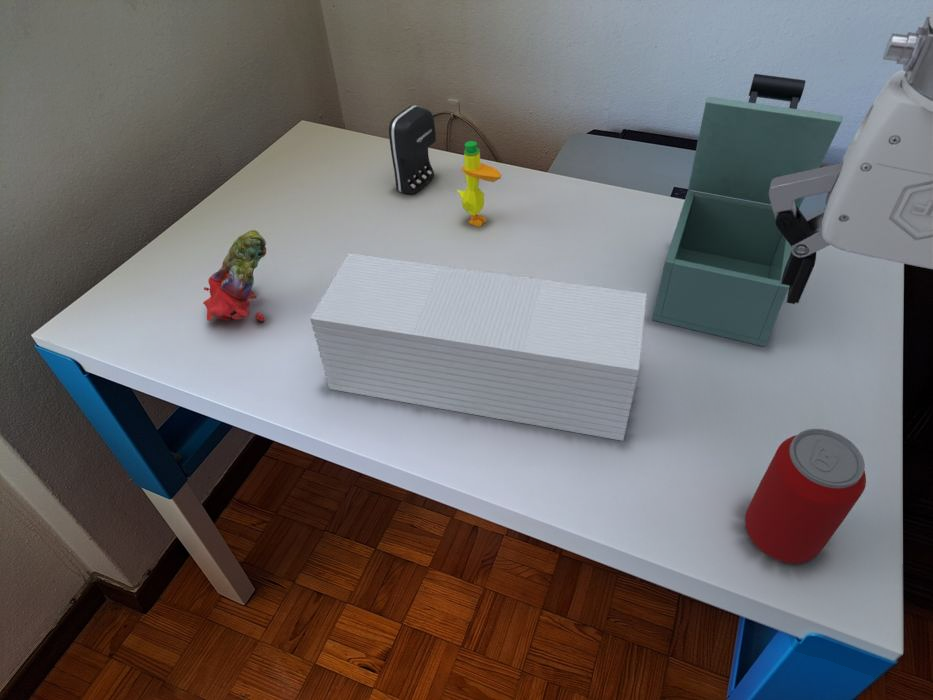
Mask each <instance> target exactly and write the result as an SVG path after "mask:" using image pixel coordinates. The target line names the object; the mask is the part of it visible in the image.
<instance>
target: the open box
mask: <svg viewBox="0 0 933 700" xmlns="http://www.w3.org/2000/svg"><path fill="white" fill-rule="evenodd" d="M669 245H670V246H669V248H668V251H667V254H666V258H665V261H664V265H663V270H662V274H661V278H660V281H659V282H660V283H659V288H658V292H657V296H656V301H655V305H654V309H653V314H652V317H651V320H652V321H654V322H659V323H663V324H667V325H671V326H675V327H678V328H679V327H680V328H684V329H688V330H693V331H697V332H701V333H705V334H709V335H713V336H716V337H722V338H726V339H730V340H734V341H739V342H743V343H746V344H747V343H748V344H751V345H754V346H760V347H764V348H765V346H766V345H767V343H768V340H769V337H770V335H771V333H772V330H773V327H774V325H775V323H776V320H777V319H778V315H779V313H780V310H781V308H782V306H783V303H784V301H785V298H786V295H787V294H788V291H789V285H784V284H781V281H782V276H783V272H784V269H785V267H786V264H787V261H788V259H789V256H790V254H791V251H792V247H791V245H790V244H789V243H788V241H787V240H786V238H785V237H784V236H783V234H782V233H781V232H780V230H779V229H778V228H777V226H776V219H775V215H774V213H773V209H772V206H771V204H765V203H760V202H754V201H749V200H743V199H738V198H732V197H727V196H721V195H716V194H710V193H705V192H699V191H694V190H687V191H686V195H685V198H684V202H683V205H682V208H681V210H680V214H679V217H678V220H677V223H676V227H675V230H674V233H673V236H672V239H671V242H670V244H669Z"/></svg>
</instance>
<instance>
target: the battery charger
mask: <svg viewBox="0 0 933 700" xmlns="http://www.w3.org/2000/svg"><path fill="white" fill-rule="evenodd" d="M388 137H389V146H390V152H391V153H390V154H391V161H392V165H393V173H394V181H395V189H396V190H397V191H398V192H399V193H404V194H409V195H413V194H416V193H417V192H419V191H421V189H423V188H424V187H425V186H426V185H427V184H429V183H430V182H431V181H432V180H433V179H434V177H435V172H434V169H433V166H432V164H431V161H430V157H429V148H430V147H431V146H432V145H433V144H434V143H436V141H437V135H436V126H435V118H434V115H433V112H432V111H430V110H429V109H427V108H424V107H421V106H419V105H417V104H416V105H410V106H408V107H406V108H405V109H403V110H402V111H400V112H399V113H397V115H395V116H393V118H392V119H391V120H390V122H389V125H388Z"/></svg>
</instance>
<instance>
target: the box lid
mask: <svg viewBox="0 0 933 700" xmlns="http://www.w3.org/2000/svg"><path fill="white" fill-rule="evenodd" d="M805 86H806V80H805V79H798V78H791V77H783V76H782V77H781V76H775V75H768V74H761V73H754V74H753V77H752V81H751V84H750V89H749V92H748V97H749V100H748V101H742V100H734V99H727V98H721V97H713V96H707V97H706V100H705V104H704V109H703V112H702V113H703V114H702V118H701V124H700V129H699V133H698V138H697V143H696V148H695V152H694V158H693V163H692V167H691V173H690V178H689V183H688V187H687V191H694V192H699V193H705V194H710V195H716V196H721V197H727V198H732V199H738V200H744V201H749V202H755V203H760V204H766V205H771V202H770V198H769V187H770V183H771V181H772V180H773V179H774V178H776V177H780V176H784V175H789V174H794V173H798V172H803V171H807V170H812V169H816V168H821V165H822V163H823V161H824V159H825V158H826V157H825V156H826V155H827V153H828V151H829V148H830V147H831V145H832V143H833V140H834V138H835V136H836V134H837V132H838V130H839V128H840V127H841V124H842V122H843V115H839V114H834V113H826V112H819V111H812V110H806V109H798V105H799V103H800V102H801V99H802V96H803V93H804V90H805ZM758 98H761V99H766V100H767V99H768V100H775V101H782V102H789V106H788V107H783V106H778V105H777V106H776V105H769V104H764V103H763V104H762V103H757V99H758ZM805 198H806V197H802V198H798V199H796V200H795V205H796V206H797V207H798V209H799V210H800V208H801V206H802V204H803V202H804V200H805Z"/></svg>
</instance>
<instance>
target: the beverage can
mask: <svg viewBox="0 0 933 700" xmlns="http://www.w3.org/2000/svg"><path fill="white" fill-rule="evenodd" d="M864 459H865V458H864V456H863V455H862V453H861V451H860V449H858V447H857V446H856V445H855V443H853V441H851V440H850V439H848V438H847V437H845V436H843V435H841V434H840V433H837V432H835V431H833V430H829V429H824V428H810V429H805V430H803V431H800V432H799V433H798V434H795V435H792V436H790V437H788V438H786V439H785V440H783V441H782V442H781V444H779V446H778V447H777V450H776V452H775V453H774V455H773V457H772V459H771V461H770V463H769V464H768V466H767V468H766V471H765V472H764V474H763V476H762V478H761V480H760V483H759V485H758V487H757V489H756V491H755V493H754V495H753V497H752V499H751V501H750V503H749V505H748V507H747V510H746V512H745V515H744V524H745V529H746V532H747V534H748V536H749V538H750V540H751V541H752V542H753V544H754V545H755V546H756V547H757V548H758V549H759V550H761V551H762V553H764V554H765V555H767V556H769V557H770V558H773V559H774V560H777V561H780V562H784V563H788V564H803V563H807V562H810V561H811V560H813V559H815V558H816V557H817V556H819V554H820V553H821V552H822V551H823V549H824V548H825V546H826V545H827V544H828V543H829V541H830V540H831V538H833V535H835V533H836V532H837V530H838V529H839V528H840V526H841V525H842V523H843V522H844V521H845V519H846V518H847V516H848V515H849V514H850V513H851V511H852V509H853V508H854V506H855V505H856V503H857V502H858V501H859V499H860V498H861V496H862V495H863V494H864V491H865V489H866V485H867V476H866V475H867V474H866V472H865V471H866V470H865V468H866V467H865V460H864Z"/></svg>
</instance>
